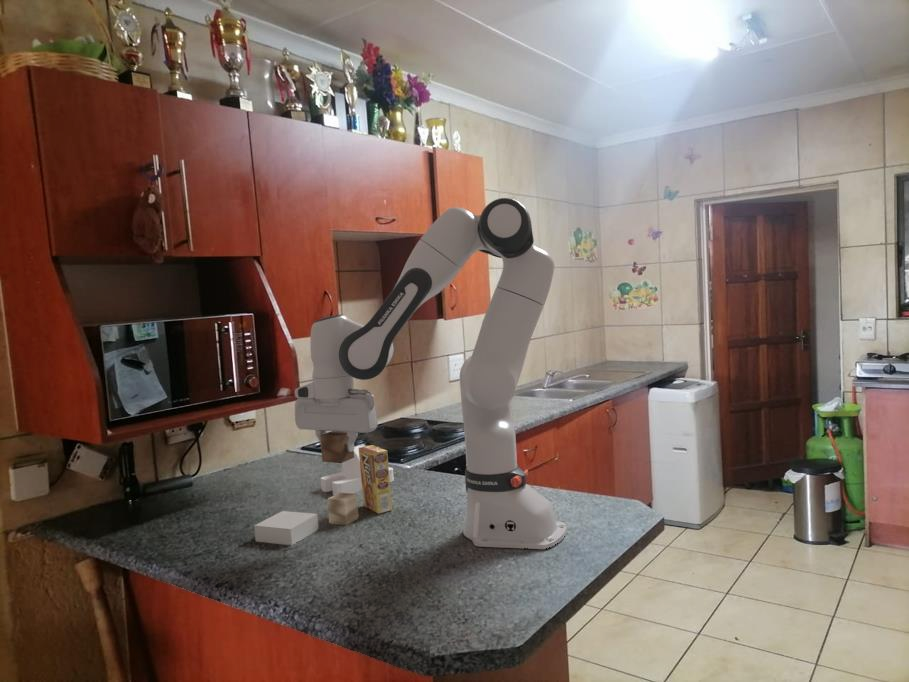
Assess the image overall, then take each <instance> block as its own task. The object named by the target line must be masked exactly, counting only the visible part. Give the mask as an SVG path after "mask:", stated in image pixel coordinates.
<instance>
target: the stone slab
mask: <svg viewBox="0 0 909 682" xmlns="http://www.w3.org/2000/svg"><path fill="white" fill-rule="evenodd" d="M253 527H254V528H253V529H254V536H255V537H254V538H255V542H257V543H267V544H277V545H284V546H293V544H294V545H295V544H297V543H298V541H299V542H300V541H302V540H303V539H305V538H307V537H308V536H310V535H311V534H313V533H315V532H316V531H318V530H319V518H318V514H317V513H311V512H297V511H288V510H287V511H286V510H281V511H280V512H278V513H276V514H274V515H272V516H270V517H268V518H266V519H264V520H262V521H260V522H258V523H256V524H254V526H253ZM296 542H297V543H296Z"/></svg>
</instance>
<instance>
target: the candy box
mask: <svg viewBox="0 0 909 682" xmlns="http://www.w3.org/2000/svg"><path fill="white" fill-rule="evenodd" d="M388 454H389V453H388V450H387V449H384V448H382V447H379V446H376V445H373V444H372V445H365V446H363V447H360V448H359V458H360V469H361V481H362V500H363V502H362V503H363V506H364V507H366V508H368V509H370V511H372V512H374V513H377V514H383V513H386V512H390V511H392V510H393V507H392V504H393V503H392V491H391V490H392V489H391V482H390V478H389V467H390V466H389V458H388V456H389V455H388Z"/></svg>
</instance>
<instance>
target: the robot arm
mask: <svg viewBox="0 0 909 682" xmlns="http://www.w3.org/2000/svg"><path fill="white" fill-rule="evenodd" d="M534 239H535V238H534V233H533V227H532V220H531V216H530V214H529V212H528V210H527V207H525V206H524V204H522V203H521V202H520V201H518V200H517V199H513V198H511V197H501V198H496V199H494V200H492V201H491V202H489V203H488V204H487V205H486V206H485V207H484V208H483V210H482V212H481V214H479V215H478V214H475V213H474V214H473V213H472V212H471V211H469V210H468V209H466V208H463V207H459V206H453V207H450V208H447V209H446V210H444V212H443V213H442V214H440V215H439V217H438V218H437V219H436V220H434V222H433V223H432V224H431V225H430V226H429V227H428V229H427V230H426V231H425V232H424V233H423V235H422V236H421V238H420V239H419V240H418V242H417V243H416V244H415V246H414V248H413V249H412V251H411V253H410V254H409V257H408V258H407V260H406V262H405V264H404V266H403V269H402V271H401V273H400V276H399V278H398V279H397V282H396V283H395V285H394V286H393V289H392V291H391V292H390V293H389V294H388V296H387V297H386V299H384V301H383V302H382V304H381V305H380V306H379V308H378V309H377V310H376V312H375V313H374V315H373V316H372V317H371V319H369V320H368V322H367V323H366V324H365V325H364V324H362V323H359V322H356V321H355V320H352V319H350V318H349V317H347V316H346V315H345V314H335V315H329V316H326V317H325V316H324V317H322V318H319V319H317V320H316V321H314V322H313V324H312V326H311V329H310V359H311V362H312V366H313V369H312V370H313V371H312V374H311V375H312V382H309V383H307V384H305V385H302V386H299V387H297V388H295V390H294V397H295V398H296V400H295V402H294V422H295V425H296V427H297V428H298V430H309V431H315V436H316V438H317V439H318V441H319V443H321V435H322V434H325V433H327V432H331V431H342V432H347V436H348V437H349V436H350V437H349V440H348V442H347V443H345V444H344V447H345V448H344V450H345V451H346V452H352V451H354V447H355V442H356V440H357V438H358V435H359V433H363V434H365V433H366V434H367V433H372V432H374V431H375V430H376V429H377V427H378V418H377V411H376V407H375V398H374V395H373V394H372V392H370V391H369V390H368V389H367V388H366V389H365V388H364V389H363V388H362V389H356V388H355V387H354V379H356V380H361V381H364V380H370V379H374V378H376V377H377V376H379V375H380V374H381V373H382V372H383V370H384V369H385V368H386V367H387V365H388V364H389V363H390V362H391V360H392V358H393V356H394V353H395V345H394V343H393V342H394V341H395V339H396V338H397V336H398V335H399V333H400V332H401V331H402V329H403V328H404V327H405V325H406V324H407V322H408V321H409V320H410V319H411V317H412V316H413V315H414V313H415V312H416V311H417V310H418V309H419V308H420V307H421V306H422V305H423V304H424V303H426V302H427V301H428V300H430V299H431V298H433V297H435V296H437V295H438V294H439V293H441V292H442V291H443V290H444V289H445V288H446V287H447V286H449V285H450V283H451V282H453V280H454V279H455V278H456V277H457V276H458V274H459V273H460V272H461V270H462V268H463V267H464V266H465V265H466V263H467V262H468V260H469V259H470V258H471V257H472V256H473V254H475V253H476V252H478V251H479V252H481V253H484V254H488V255H490V256H493V257H495V258H497V259H498V258H500V259H501V261H502V271H501V273H500V274H501V275H500V276H499V280H498V282H497V284H496V286H495V289H494V292H493V294H492V297H491V298H490V299H491V300H490V302H489V305H488V306H487V309H486V312H485V314H484V317H483V320H482V322H481V326H480V329H479V333H478V335H477V339H476V342H475V344H474V345H475V346H474V347H473V351H472V354H471V355H470V356H468V358H467V359H466V360H465V361H464V362H463V363H462V366H461V367H460V370H459V388H460V389H459V390H460V399H461V411H462V420H463V421H462V422H463V431H464V444H465V445H464V446H465V459H466V460H465V461H466V462H465V463H466V468H465V469H464V475H465V476H464V481H465V490H466V491H465V492H466V493H467V496H466V497H467V499H466V500H467V501H466V502H467V504H466V514H465V522H464V526H463V530H462V533H463V536H464V537H466V538H467V539H469V540H471V542H472V543H473V545H474V546H475V547H478V548H479V547H481V548H482V547H483V548H484V547H485V548H503V549H504V548H506V549H507V548H508V549H524V548H526V549H527V548H528V549H529V550H546V548H547V549H549V547H550V548H552V547H554V546H556V545H558V544H559V543H560V542H562V541H563V539H564V538H565V537H566V536H567V533H568V531H567V530H568V529H567V525H566V524H565V523H564V522H562V521H557V518H556V513H555V510H554V507H553V504H552V503H551V501H550V500H548V499H547V498H546V497H544V496H543V495H542V494H540V493H539V492H538V491H536V490H535V489H534V488H532V487H531V486H530V485H529V484H527V476H528V475H529V469H526V470H522V468H520V466H519V465H518V462H517V461H518V460H517V459H518V457H517V441H516V440H517V439H516V428H515V423H514V416H513V411H512V410H513V409H512V402H511V401H512V399H513V398H514V396H515V393H516V390H517V386H518V383H519V380H520V378H521V374H522V370H523V367H524V364H525V360H526V357H527V353H528V349H529V346H530V343H531V339H532V336H533V335H534V331H535V328H536V327H537V324H538V321H539V320H540V316H541V314H542V311H543V309H544V306H545V303H546V302H547V299H548V295H549V293H550V289H551V286H552V281H553V277H554V272H555V262H554V260H553V257H552V256H551V254H549V253H548V252H547V251H546V250H544V249H542V248H540V247H537V246H535V245H534ZM564 536H565V537H564ZM557 543H558V544H557ZM555 544H556V545H555Z"/></svg>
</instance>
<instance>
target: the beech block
mask: <svg viewBox="0 0 909 682" xmlns="http://www.w3.org/2000/svg"><path fill="white" fill-rule="evenodd" d="M357 495H358V494H357V493H351V494H350V493H338V494H336V495H332V496H330V497H328V498H327V500H326V501H327V502H326V503H327V513H328V524H332V525H342V526H347V525H350V524H351V523H353V522H354V521H356V520H358V519H359V507H358V506H359V505H358V496H357Z"/></svg>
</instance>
